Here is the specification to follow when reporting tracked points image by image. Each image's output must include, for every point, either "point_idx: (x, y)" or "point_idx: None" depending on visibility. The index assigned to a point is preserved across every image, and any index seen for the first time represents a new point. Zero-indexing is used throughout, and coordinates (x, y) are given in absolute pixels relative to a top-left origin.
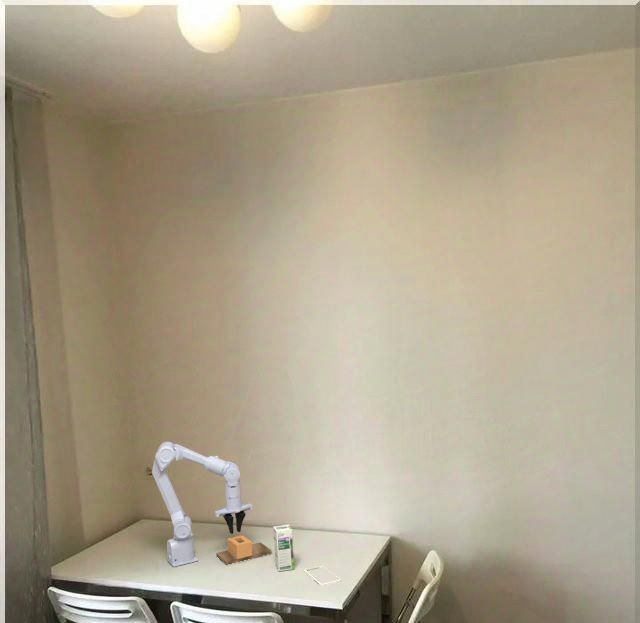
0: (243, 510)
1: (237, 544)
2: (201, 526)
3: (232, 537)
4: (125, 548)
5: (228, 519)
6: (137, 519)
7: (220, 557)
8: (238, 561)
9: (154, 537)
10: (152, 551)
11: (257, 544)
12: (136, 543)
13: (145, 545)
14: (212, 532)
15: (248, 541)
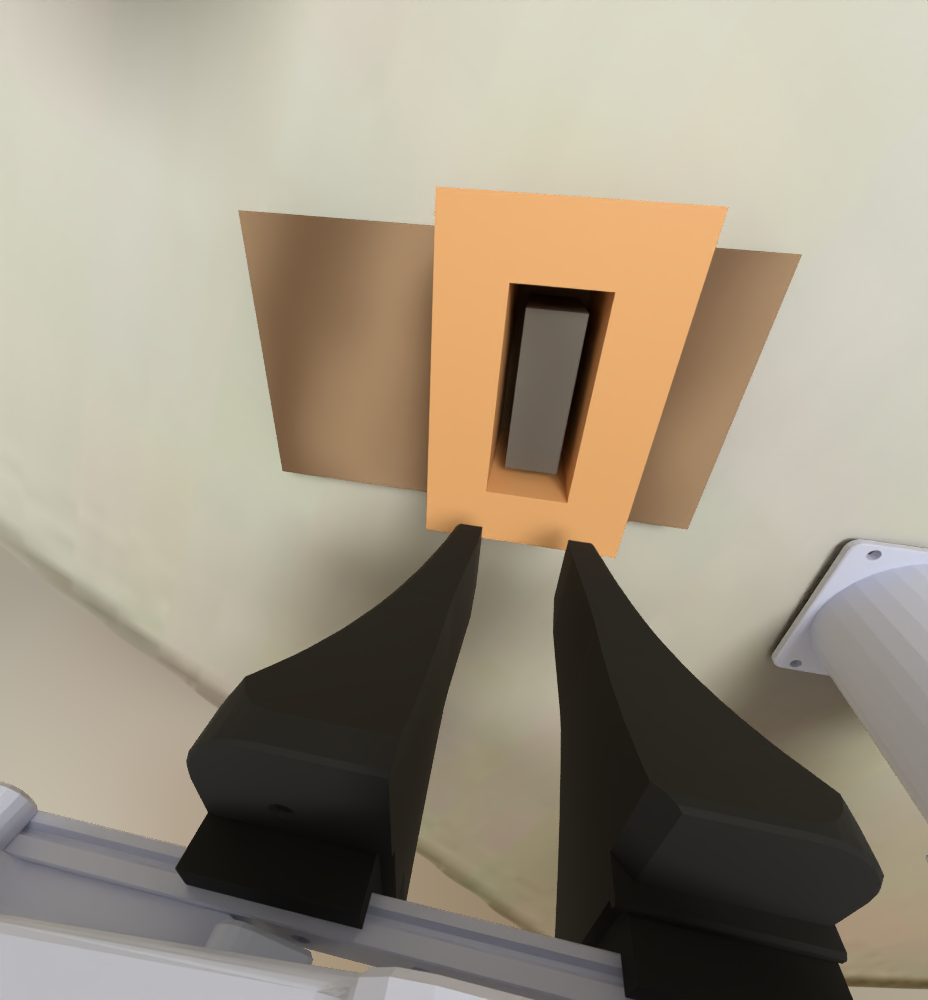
0: (191, 881)
1: (682, 245)
2: (459, 839)
3: (551, 543)
4: (897, 903)
5: (827, 788)
6: None
7: (721, 432)
8: None
9: None
10: (857, 818)
11: (316, 447)
12: None
13: None
14: (454, 780)
15: (470, 246)
